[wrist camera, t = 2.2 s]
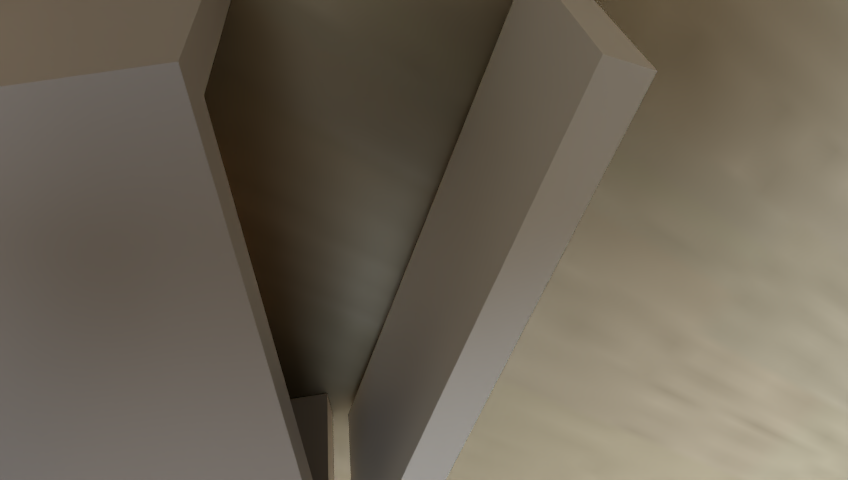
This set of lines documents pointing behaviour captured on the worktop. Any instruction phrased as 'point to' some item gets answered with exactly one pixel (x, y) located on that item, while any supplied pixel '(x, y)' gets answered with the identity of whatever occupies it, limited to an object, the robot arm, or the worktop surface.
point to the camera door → (495, 232)
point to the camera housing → (131, 261)
